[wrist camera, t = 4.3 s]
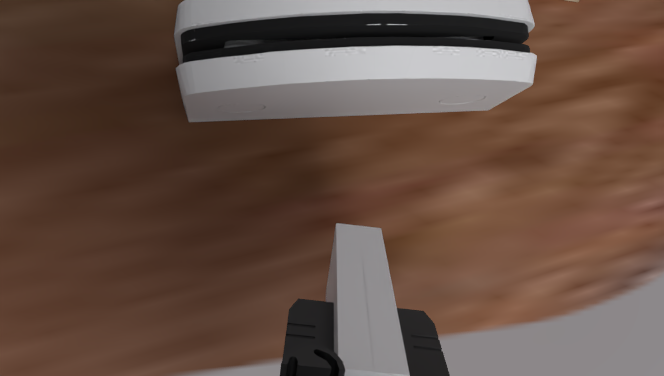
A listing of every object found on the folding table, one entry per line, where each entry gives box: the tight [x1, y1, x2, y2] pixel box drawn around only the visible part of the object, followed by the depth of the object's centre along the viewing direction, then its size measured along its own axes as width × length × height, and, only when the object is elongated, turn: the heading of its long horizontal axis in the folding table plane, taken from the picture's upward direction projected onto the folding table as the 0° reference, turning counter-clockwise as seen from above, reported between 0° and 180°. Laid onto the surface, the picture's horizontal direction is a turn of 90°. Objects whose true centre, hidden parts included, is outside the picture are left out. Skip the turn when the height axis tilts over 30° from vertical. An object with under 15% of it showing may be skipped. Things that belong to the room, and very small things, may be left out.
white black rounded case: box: [174, 0, 537, 122], centre depth 23 cm, size 17×5×10 cm, turn 96°
